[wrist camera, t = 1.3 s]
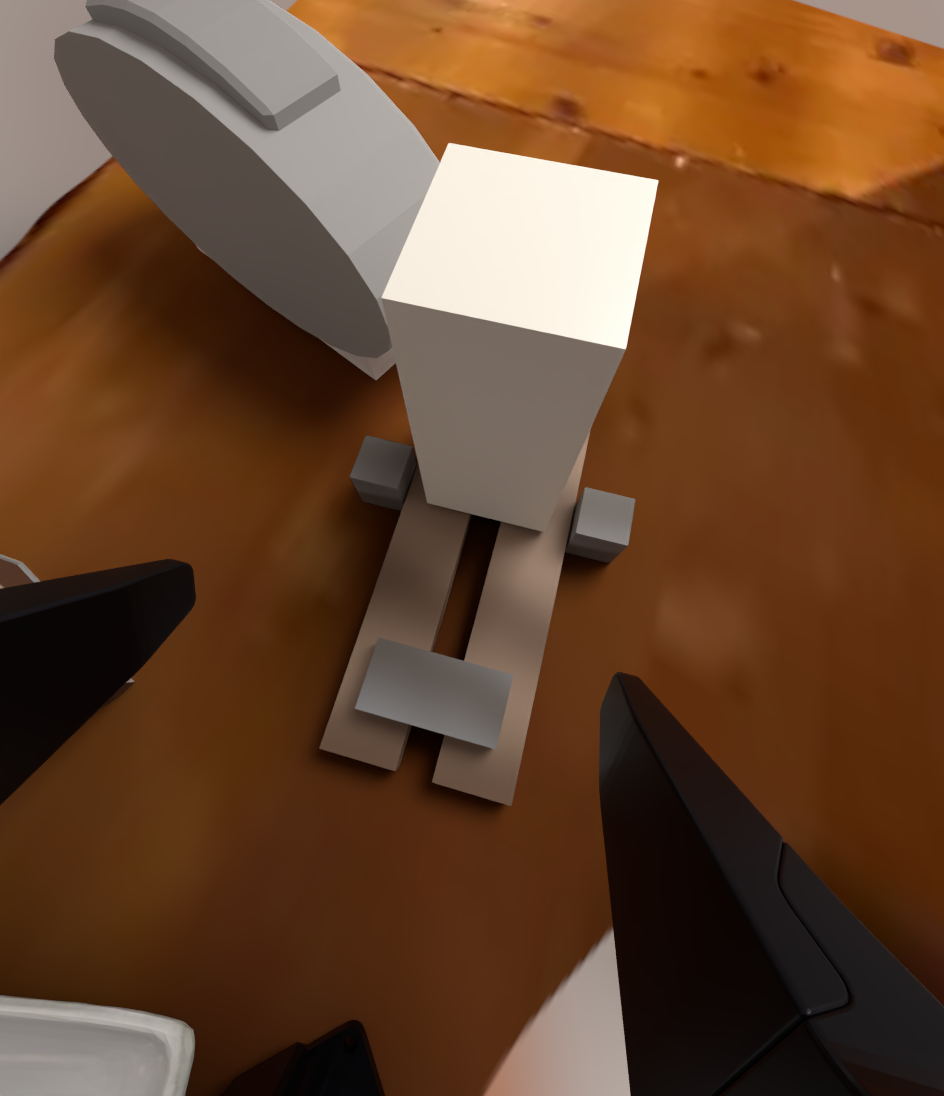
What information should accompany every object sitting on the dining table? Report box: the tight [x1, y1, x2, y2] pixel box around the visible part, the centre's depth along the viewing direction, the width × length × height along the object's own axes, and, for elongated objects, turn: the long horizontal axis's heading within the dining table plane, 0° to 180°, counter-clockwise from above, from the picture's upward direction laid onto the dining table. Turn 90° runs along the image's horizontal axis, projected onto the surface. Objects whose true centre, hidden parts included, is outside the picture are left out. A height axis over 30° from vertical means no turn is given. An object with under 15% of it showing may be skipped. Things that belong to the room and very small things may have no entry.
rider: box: [381, 143, 658, 532], centre depth 18 cm, size 6×6×13 cm
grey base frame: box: [319, 429, 635, 806], centre depth 22 cm, size 26×13×3 cm, turn 165°
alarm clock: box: [54, 0, 440, 380], centre depth 23 cm, size 23×6×13 cm, turn 50°
